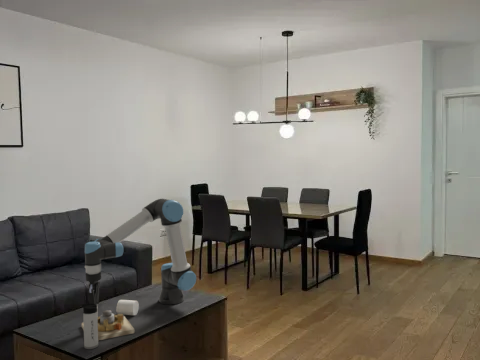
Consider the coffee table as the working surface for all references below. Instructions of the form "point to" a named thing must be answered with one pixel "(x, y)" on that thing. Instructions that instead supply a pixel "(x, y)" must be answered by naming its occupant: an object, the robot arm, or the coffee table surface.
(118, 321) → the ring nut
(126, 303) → the mug
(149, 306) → the coffee table surface
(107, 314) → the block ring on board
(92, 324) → the travel mug
